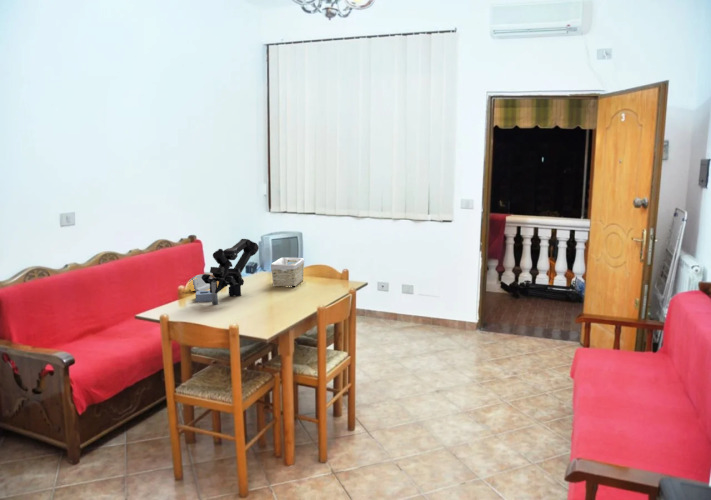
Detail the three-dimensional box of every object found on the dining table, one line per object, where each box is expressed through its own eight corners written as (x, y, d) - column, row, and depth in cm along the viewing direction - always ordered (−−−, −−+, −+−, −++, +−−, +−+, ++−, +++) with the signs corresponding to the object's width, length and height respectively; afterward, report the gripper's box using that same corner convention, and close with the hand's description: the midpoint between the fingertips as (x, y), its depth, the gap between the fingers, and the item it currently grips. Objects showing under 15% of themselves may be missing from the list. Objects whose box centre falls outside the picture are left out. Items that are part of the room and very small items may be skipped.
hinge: (199, 292, 326) (193, 276, 325) (192, 294, 328) (186, 278, 327) (214, 286, 342) (208, 271, 341) (208, 288, 343) (202, 273, 343)
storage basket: (295, 288, 338) (295, 264, 336) (270, 287, 341) (269, 263, 338) (305, 279, 361) (305, 257, 359) (281, 279, 364) (280, 257, 361)
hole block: (213, 297, 316) (212, 290, 315) (212, 300, 307) (212, 293, 306) (196, 297, 314) (196, 291, 313) (195, 301, 305) (195, 294, 304)
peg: (217, 303, 302) (217, 281, 300) (217, 304, 299) (216, 282, 297) (212, 303, 301) (211, 281, 299) (212, 305, 298) (211, 282, 296)
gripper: (202, 259, 303) (191, 283, 294) (232, 261, 297) (222, 286, 288) (211, 271, 311) (200, 294, 303) (240, 273, 306) (230, 297, 297)
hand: (213, 293), depth 298 cm, fingers closed on peg, 3 cm apart
